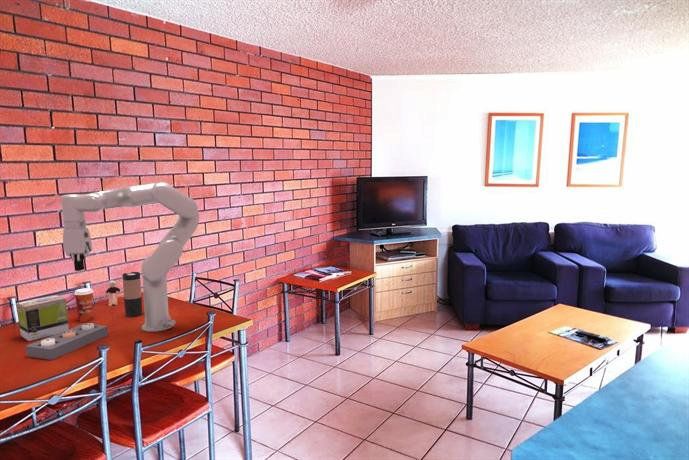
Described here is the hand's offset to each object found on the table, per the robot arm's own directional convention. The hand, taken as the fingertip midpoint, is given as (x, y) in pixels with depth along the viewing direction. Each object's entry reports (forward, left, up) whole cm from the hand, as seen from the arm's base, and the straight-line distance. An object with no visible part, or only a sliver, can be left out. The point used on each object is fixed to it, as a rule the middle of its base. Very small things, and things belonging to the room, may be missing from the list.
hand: (79, 270), depth 185 cm
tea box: (+18, +3, -28) cm, 34 cm away
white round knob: (-3, +18, -27) cm, 33 cm away
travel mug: (+1, -29, -28) cm, 41 cm away
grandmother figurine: (+23, -41, -28) cm, 55 cm away
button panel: (-3, +9, -28) cm, 29 cm away
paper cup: (+17, -17, -28) cm, 37 cm away
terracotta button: (-3, +10, -27) cm, 28 cm away
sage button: (-3, 0, -27) cm, 27 cm away
